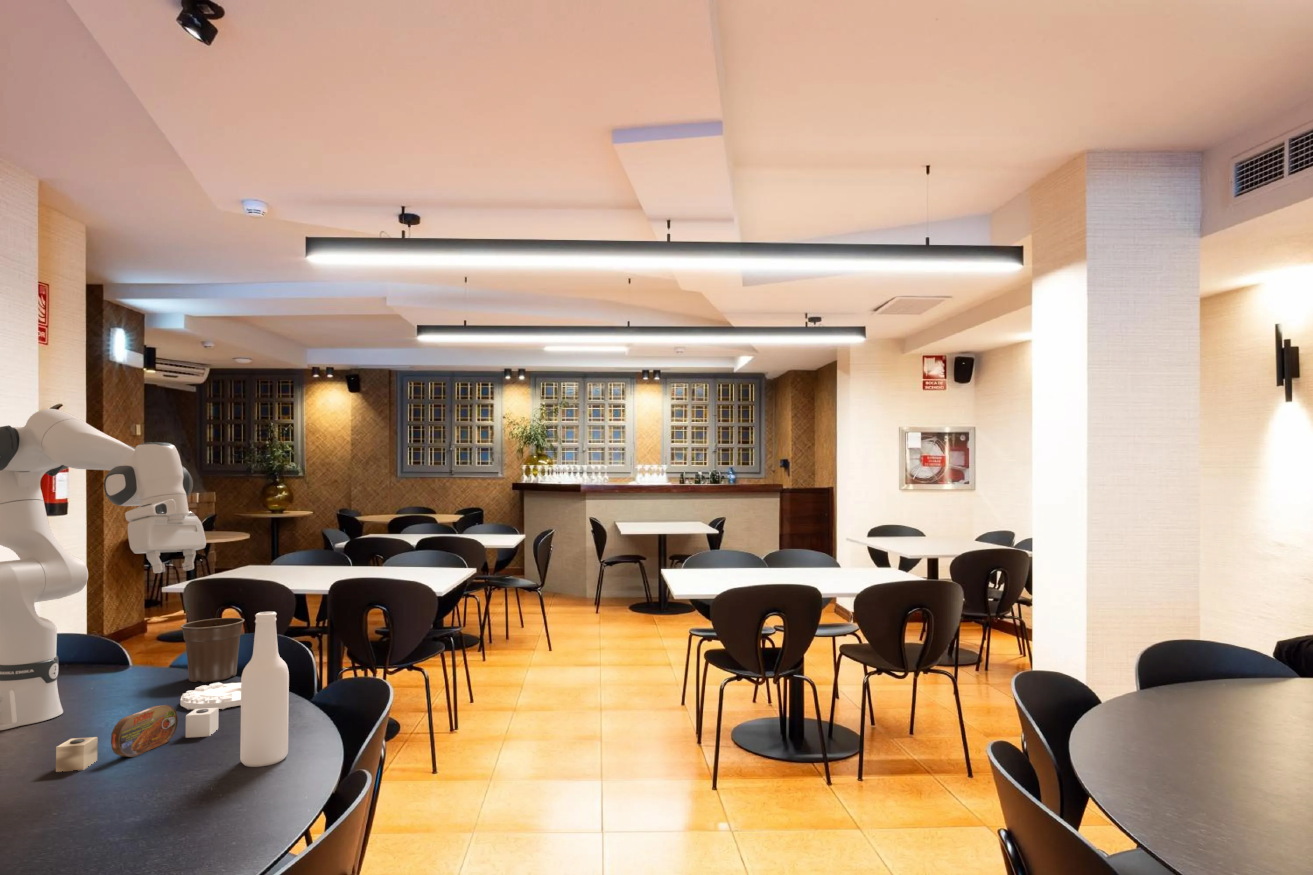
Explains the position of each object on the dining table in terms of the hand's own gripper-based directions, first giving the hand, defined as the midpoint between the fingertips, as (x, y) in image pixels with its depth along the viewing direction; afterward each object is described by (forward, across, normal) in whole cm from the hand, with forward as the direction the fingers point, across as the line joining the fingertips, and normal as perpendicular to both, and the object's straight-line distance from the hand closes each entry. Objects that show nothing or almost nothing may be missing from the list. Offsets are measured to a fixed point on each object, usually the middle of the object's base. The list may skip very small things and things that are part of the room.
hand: (174, 571), depth 173 cm
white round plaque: (+33, -34, -16) cm, 50 cm away
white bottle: (+43, +8, +19) cm, 48 cm away
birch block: (+36, +12, -17) cm, 42 cm away
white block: (+37, -8, -5) cm, 38 cm away
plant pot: (+28, -56, -33) cm, 71 cm away
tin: (+37, +3, -11) cm, 38 cm away
